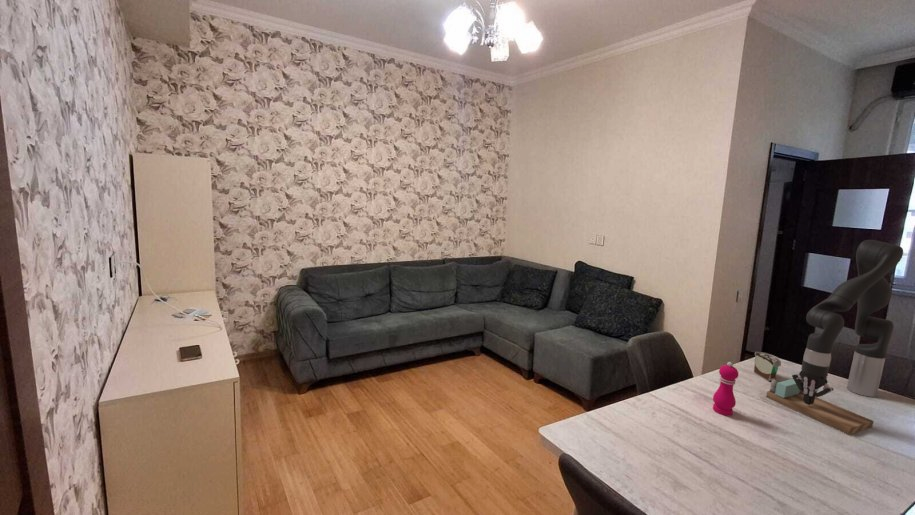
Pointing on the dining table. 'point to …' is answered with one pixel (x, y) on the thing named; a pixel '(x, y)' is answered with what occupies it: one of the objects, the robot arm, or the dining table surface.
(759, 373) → the food container
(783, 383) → the hinged leg
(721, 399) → the pepper mill
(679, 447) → the dining table surface
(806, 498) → the dining table surface
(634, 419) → the dining table surface
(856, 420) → the board
